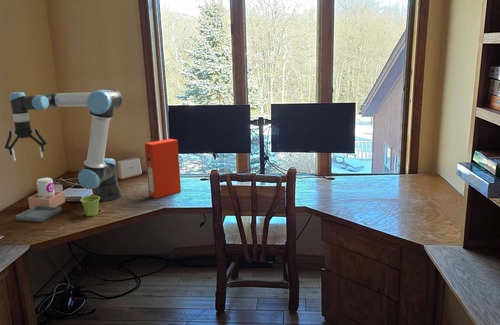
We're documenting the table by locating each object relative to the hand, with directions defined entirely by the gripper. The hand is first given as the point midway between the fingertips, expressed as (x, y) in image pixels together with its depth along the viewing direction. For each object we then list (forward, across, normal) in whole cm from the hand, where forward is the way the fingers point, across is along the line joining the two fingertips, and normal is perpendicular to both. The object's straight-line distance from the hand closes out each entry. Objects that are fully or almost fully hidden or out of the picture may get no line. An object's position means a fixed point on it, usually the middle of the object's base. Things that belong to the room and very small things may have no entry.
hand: (28, 159), depth 226 cm
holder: (+26, -7, +8) cm, 28 cm away
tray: (+26, -4, +25) cm, 36 cm away
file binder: (+27, -71, +17) cm, 77 cm away
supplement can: (+26, -7, +8) cm, 28 cm away
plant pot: (+27, -29, +34) cm, 52 cm away
